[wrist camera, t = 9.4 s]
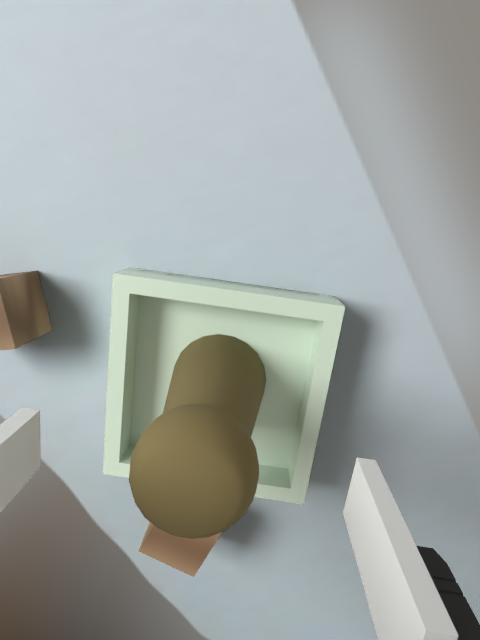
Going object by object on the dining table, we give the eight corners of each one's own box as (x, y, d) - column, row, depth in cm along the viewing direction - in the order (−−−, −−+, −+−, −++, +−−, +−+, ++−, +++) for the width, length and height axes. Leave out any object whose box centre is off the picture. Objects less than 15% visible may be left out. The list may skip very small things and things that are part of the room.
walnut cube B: (178, 466, 27) (164, 505, 23) (226, 490, 28) (221, 533, 24) (155, 506, 28) (138, 551, 24) (202, 529, 29) (193, 576, 25)
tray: (130, 267, 24) (112, 273, 21) (334, 296, 24) (345, 306, 21) (119, 447, 27) (102, 473, 24) (299, 474, 27) (303, 504, 24)
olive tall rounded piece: (249, 322, 23) (240, 404, 13) (278, 407, 25) (291, 547, 14) (159, 349, 24) (78, 448, 13) (191, 431, 25) (141, 580, 15)
